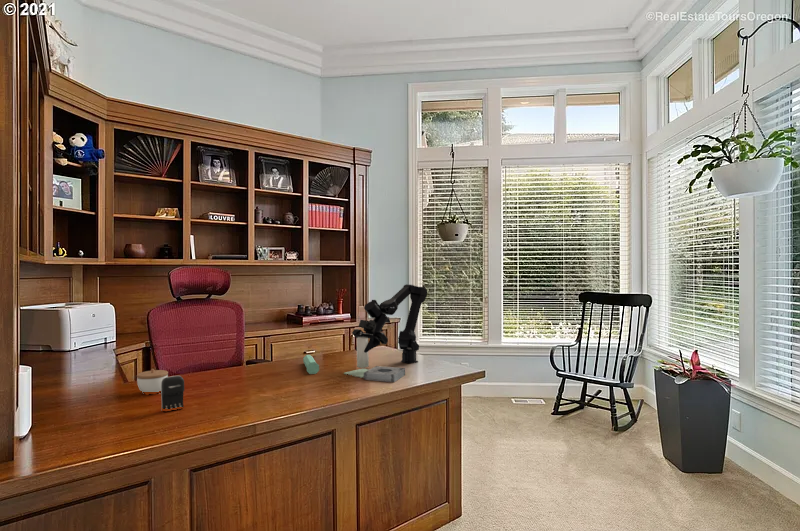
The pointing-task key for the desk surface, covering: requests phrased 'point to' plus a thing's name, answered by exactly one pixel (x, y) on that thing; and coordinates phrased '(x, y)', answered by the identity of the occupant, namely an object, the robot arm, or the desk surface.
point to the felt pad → (357, 372)
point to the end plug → (362, 352)
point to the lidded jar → (151, 380)
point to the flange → (384, 374)
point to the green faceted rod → (310, 364)
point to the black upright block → (172, 392)
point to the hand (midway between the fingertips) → (360, 351)
